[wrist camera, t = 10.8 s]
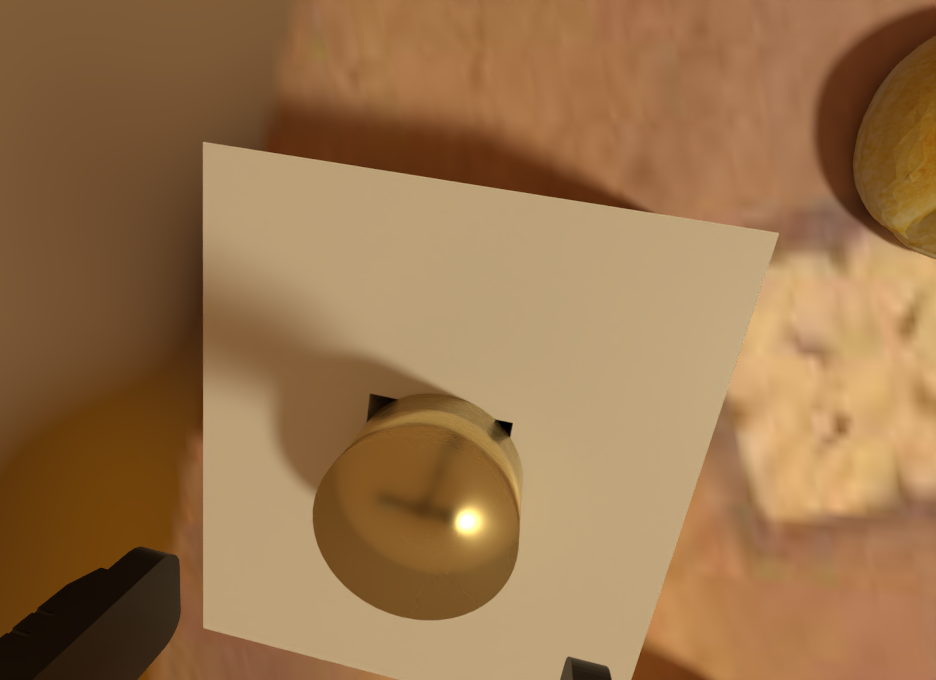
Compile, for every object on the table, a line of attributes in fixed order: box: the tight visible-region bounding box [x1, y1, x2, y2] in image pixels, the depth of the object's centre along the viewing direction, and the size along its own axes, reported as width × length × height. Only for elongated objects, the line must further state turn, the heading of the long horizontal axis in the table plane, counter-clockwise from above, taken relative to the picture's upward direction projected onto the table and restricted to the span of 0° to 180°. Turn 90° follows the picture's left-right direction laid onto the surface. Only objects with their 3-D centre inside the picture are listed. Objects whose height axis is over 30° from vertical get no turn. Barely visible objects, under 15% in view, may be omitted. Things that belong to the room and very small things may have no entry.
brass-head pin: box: [313, 393, 523, 620], centre depth 18 cm, size 6×6×12 cm
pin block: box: [203, 142, 779, 680], centre depth 20 cm, size 18×16×10 cm
